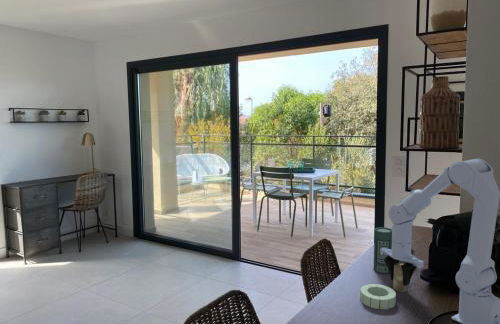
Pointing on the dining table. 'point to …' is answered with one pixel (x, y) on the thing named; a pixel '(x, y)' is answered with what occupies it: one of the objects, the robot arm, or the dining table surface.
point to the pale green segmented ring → (378, 296)
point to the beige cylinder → (398, 278)
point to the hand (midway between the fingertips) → (400, 282)
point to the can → (381, 241)
